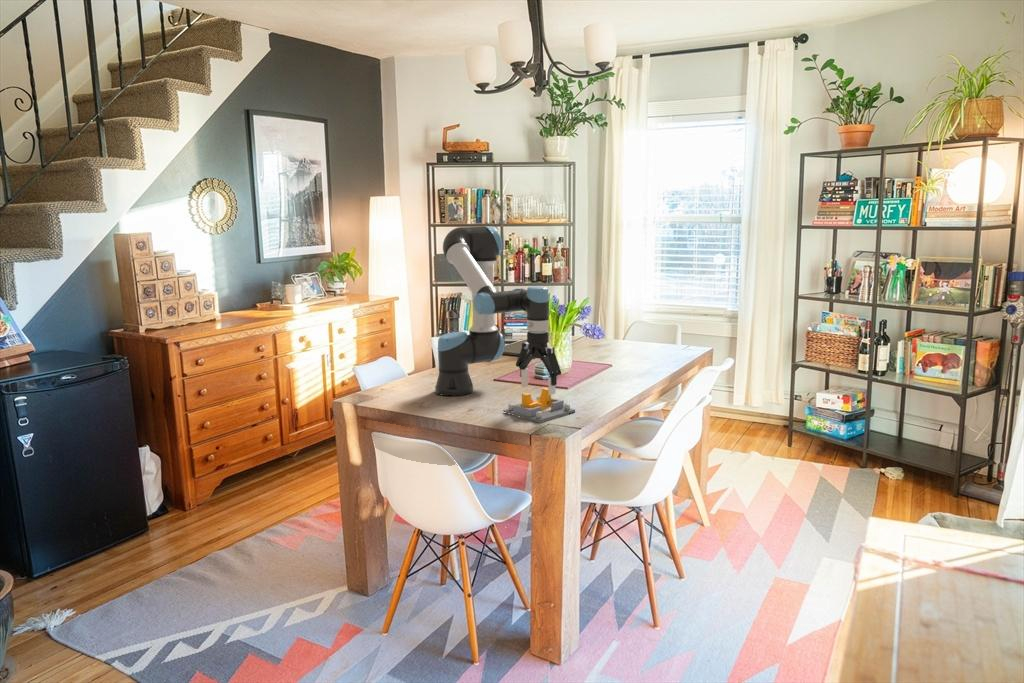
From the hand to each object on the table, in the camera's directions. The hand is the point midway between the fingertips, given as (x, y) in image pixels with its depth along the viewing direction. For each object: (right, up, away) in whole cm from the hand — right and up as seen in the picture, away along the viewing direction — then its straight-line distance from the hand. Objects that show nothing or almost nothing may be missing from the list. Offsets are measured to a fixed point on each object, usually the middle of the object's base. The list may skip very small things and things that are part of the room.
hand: (538, 390), depth 256 cm
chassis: (0, -8, +1) cm, 8 cm away
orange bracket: (0, -7, +1) cm, 7 cm away
